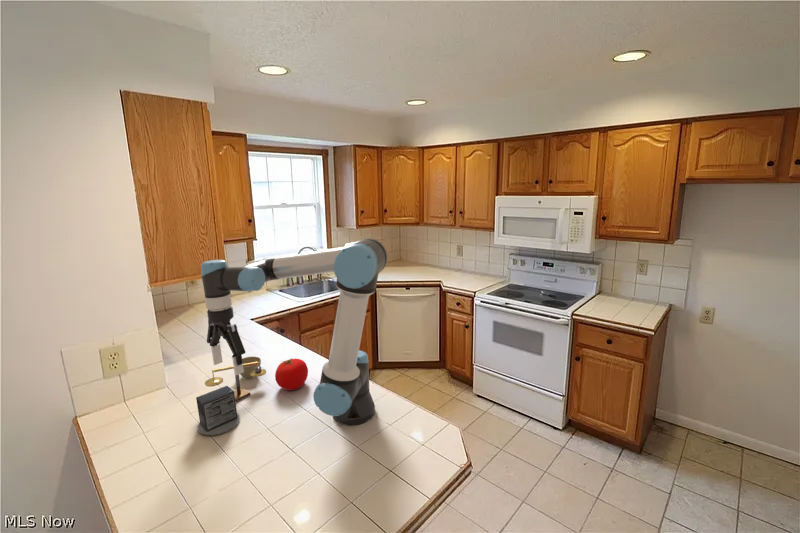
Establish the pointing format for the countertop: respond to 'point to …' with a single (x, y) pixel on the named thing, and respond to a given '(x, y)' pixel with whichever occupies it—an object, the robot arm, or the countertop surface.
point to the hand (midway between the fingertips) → (228, 368)
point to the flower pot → (249, 368)
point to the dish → (219, 428)
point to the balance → (240, 392)
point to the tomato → (291, 374)
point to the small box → (216, 408)
